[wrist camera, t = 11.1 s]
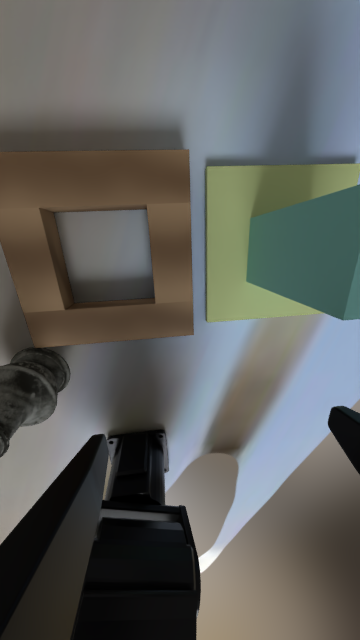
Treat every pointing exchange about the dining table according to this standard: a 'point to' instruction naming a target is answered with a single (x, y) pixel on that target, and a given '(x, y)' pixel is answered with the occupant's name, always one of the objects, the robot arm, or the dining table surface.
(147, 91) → the dining table surface
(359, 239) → the teal peg
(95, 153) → the frame
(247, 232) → the olive mat
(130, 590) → the robot arm
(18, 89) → the dining table surface
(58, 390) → the dark grey upright piece
